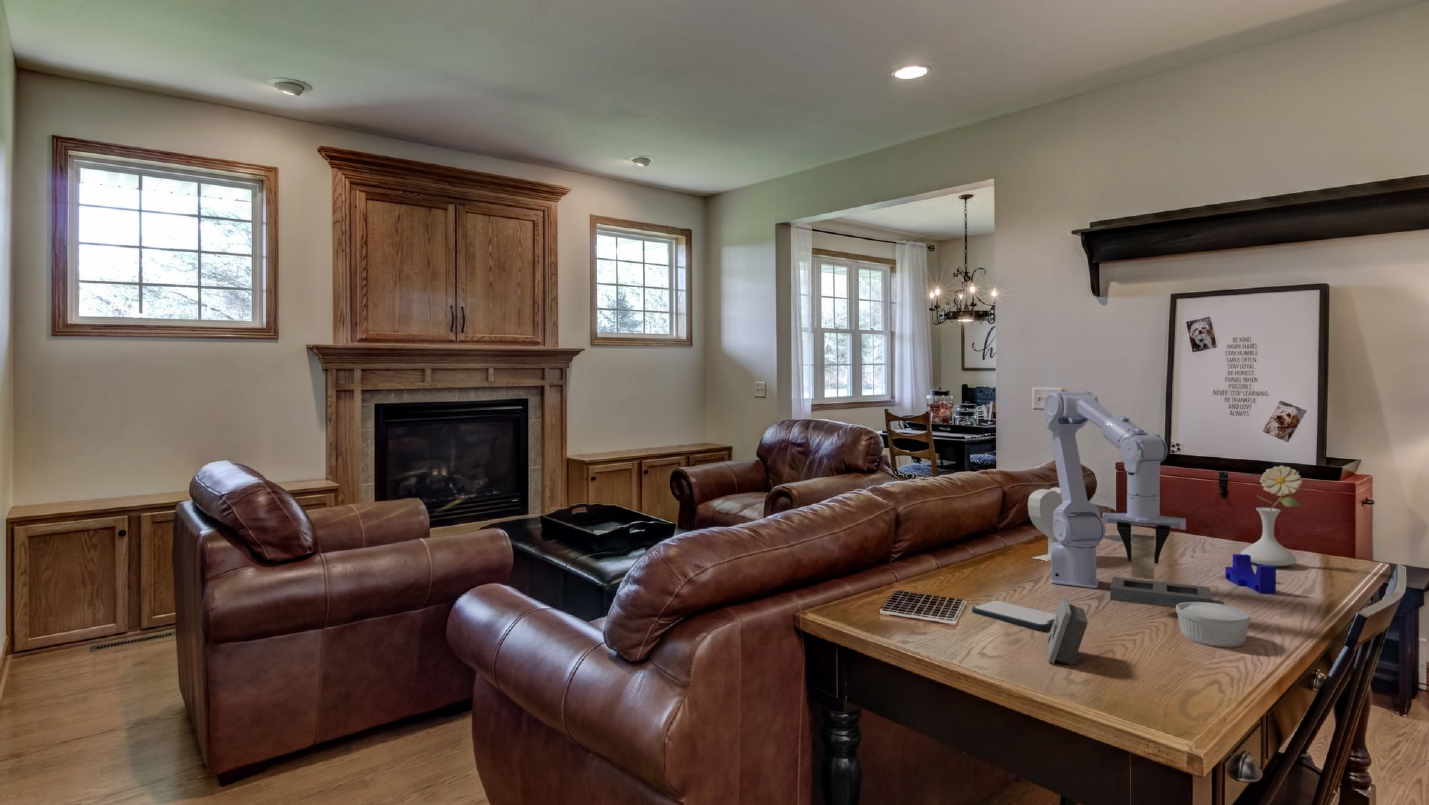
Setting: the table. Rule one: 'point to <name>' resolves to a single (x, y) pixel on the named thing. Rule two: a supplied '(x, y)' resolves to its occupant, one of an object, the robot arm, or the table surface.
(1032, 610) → the phone case
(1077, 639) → the electrical switch
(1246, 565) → the cable clip
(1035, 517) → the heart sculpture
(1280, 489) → the flower in vase
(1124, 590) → the grey slotted board
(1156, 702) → the table surface
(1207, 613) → the ramekin
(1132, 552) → the peg
